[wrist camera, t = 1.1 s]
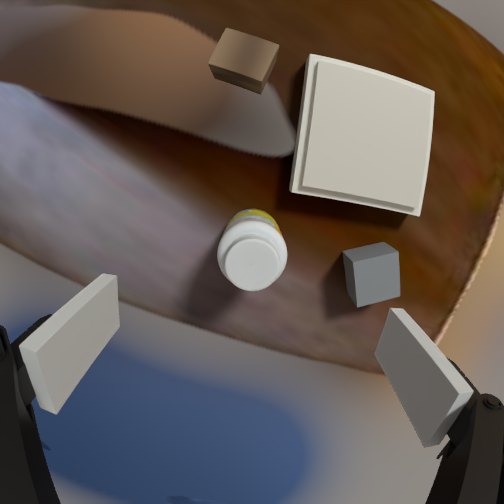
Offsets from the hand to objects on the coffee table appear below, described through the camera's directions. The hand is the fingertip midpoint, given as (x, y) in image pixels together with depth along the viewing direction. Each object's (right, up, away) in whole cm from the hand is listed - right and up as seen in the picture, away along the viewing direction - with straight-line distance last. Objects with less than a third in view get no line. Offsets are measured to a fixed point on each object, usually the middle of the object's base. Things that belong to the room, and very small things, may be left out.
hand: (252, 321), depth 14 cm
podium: (+12, +15, +15) cm, 24 cm away
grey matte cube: (+13, +1, +19) cm, 23 cm away
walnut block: (-1, +22, +13) cm, 25 cm away
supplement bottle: (0, +5, +18) cm, 19 cm away
